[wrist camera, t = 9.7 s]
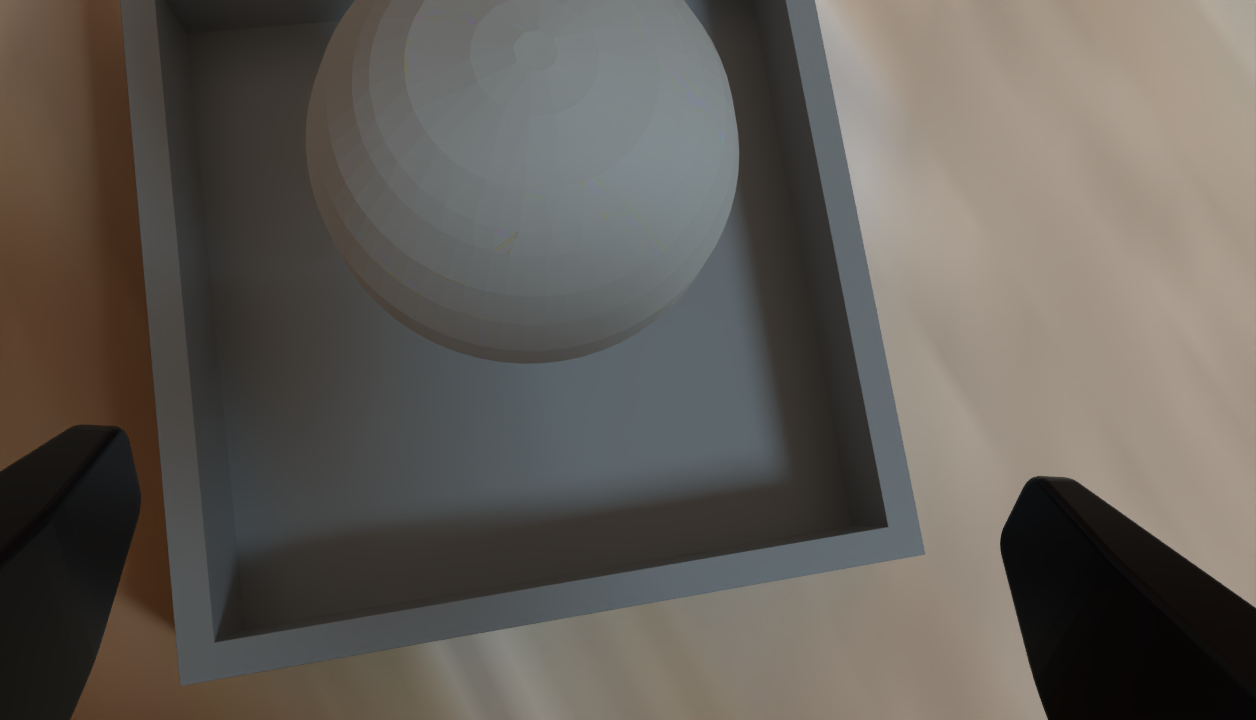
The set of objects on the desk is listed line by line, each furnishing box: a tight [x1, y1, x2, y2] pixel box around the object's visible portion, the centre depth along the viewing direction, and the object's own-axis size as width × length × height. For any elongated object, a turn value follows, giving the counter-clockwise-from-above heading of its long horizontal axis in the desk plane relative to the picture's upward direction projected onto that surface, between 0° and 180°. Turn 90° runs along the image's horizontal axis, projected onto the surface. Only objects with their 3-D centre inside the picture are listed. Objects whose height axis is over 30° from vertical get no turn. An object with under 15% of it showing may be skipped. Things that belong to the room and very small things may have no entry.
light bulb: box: [306, 0, 739, 364], centre depth 15 cm, size 5×5×10 cm
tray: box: [120, 0, 925, 686], centre depth 19 cm, size 13×13×2 cm
